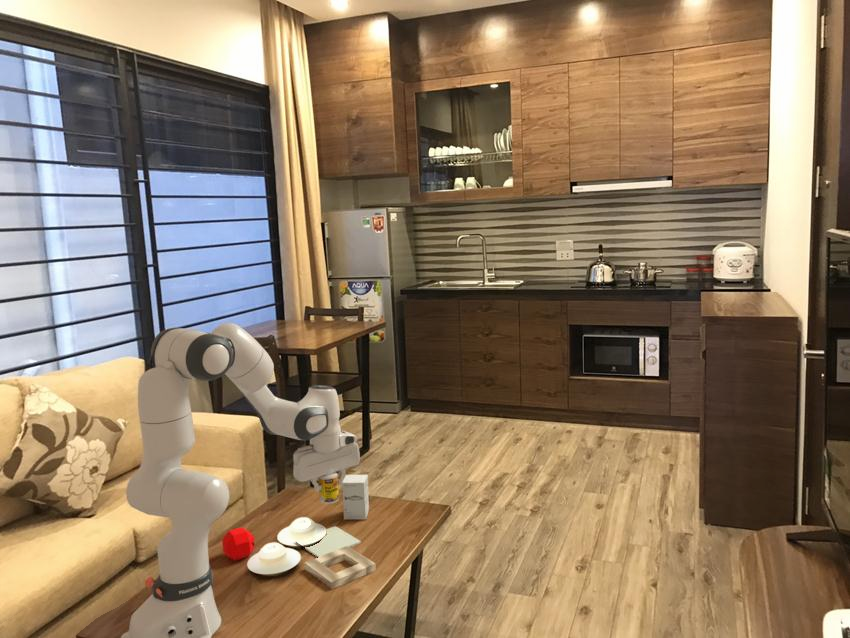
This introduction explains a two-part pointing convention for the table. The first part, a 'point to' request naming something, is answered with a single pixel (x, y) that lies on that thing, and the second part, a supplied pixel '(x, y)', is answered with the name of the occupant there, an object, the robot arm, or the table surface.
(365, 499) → the supplement box
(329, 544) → the sage tile
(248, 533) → the ball
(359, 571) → the birch caddy
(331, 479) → the supplement bottle
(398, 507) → the table surface
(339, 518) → the table surface
